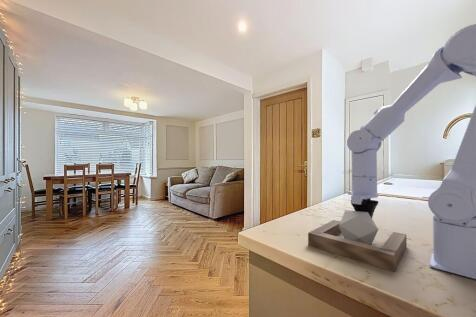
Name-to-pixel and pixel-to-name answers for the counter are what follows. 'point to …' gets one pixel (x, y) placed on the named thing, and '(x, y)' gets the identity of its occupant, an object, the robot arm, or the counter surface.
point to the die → (358, 227)
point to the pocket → (359, 246)
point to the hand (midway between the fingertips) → (364, 227)
